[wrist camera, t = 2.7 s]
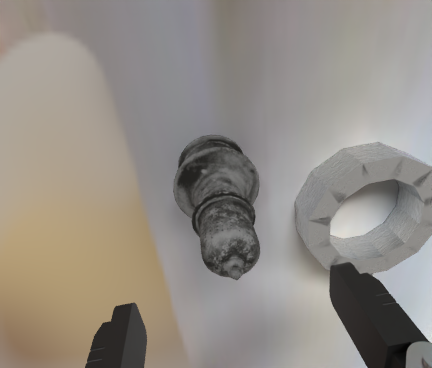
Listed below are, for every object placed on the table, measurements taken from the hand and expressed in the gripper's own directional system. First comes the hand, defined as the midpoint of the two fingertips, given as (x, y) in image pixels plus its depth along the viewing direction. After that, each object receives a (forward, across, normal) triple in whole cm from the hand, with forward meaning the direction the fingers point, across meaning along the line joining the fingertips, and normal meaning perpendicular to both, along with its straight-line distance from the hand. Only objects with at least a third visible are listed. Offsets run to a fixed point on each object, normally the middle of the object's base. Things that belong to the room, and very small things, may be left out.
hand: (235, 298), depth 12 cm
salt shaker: (+13, 0, 0) cm, 13 cm away
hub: (+13, -12, +6) cm, 19 cm away
